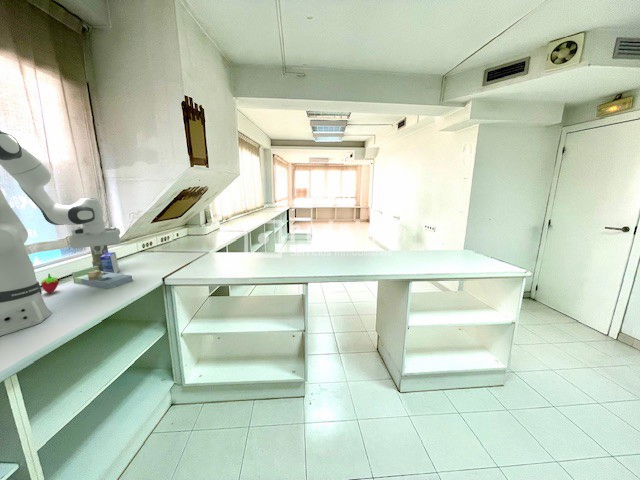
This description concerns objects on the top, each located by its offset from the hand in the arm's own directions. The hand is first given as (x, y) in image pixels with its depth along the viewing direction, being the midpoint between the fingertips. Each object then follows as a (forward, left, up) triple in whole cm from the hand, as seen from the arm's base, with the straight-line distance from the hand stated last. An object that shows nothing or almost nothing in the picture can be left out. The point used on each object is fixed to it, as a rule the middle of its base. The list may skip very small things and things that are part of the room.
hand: (98, 254), depth 137 cm
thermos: (+13, +22, -16) cm, 30 cm away
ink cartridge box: (+11, +12, -16) cm, 23 cm away
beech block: (-3, 0, -13) cm, 13 cm away
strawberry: (-18, +9, -16) cm, 26 cm away
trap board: (0, +1, -16) cm, 16 cm away
